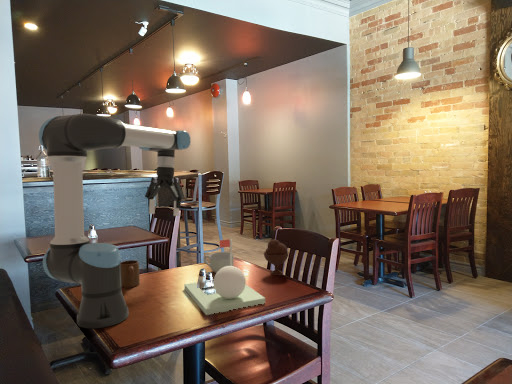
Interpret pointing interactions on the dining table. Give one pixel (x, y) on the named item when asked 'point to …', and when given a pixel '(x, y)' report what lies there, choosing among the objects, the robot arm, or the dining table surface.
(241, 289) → the ball
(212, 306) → the putting deck
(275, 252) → the ice cream bowl
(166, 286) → the dining table surface
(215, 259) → the teacup
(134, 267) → the mug
